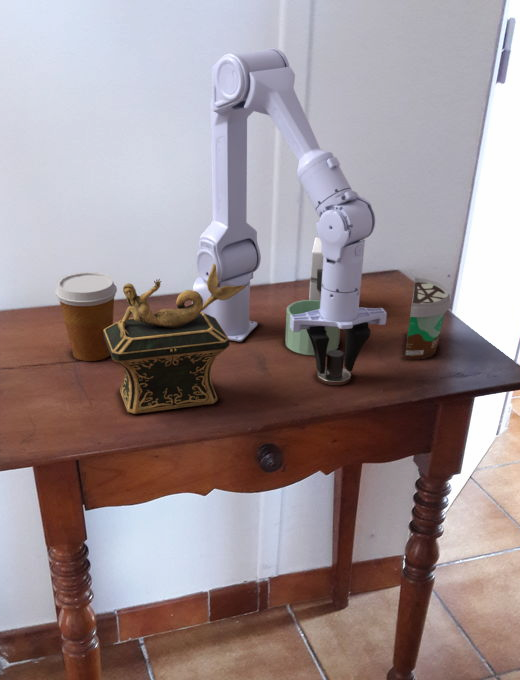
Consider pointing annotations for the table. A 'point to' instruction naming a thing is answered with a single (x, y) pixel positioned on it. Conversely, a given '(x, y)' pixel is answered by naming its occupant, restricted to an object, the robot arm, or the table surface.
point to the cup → (301, 339)
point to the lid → (334, 369)
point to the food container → (426, 318)
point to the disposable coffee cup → (87, 312)
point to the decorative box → (168, 349)
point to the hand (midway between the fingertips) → (334, 369)
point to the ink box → (316, 271)
